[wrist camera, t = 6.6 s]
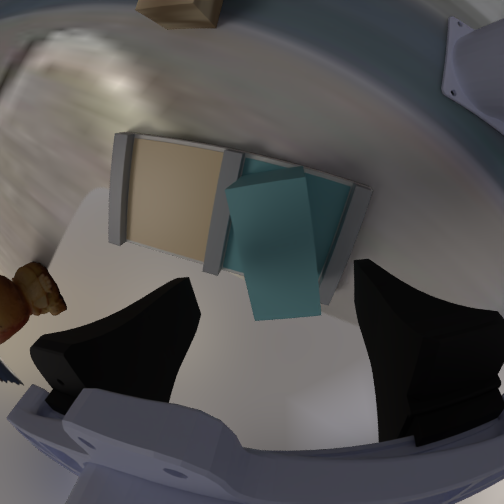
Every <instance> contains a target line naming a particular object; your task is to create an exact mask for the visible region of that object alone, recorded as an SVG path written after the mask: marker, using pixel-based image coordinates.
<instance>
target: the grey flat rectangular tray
mask: <svg viewBox="0 0 504 504" xmlns="http://www.w3.org/2000/svg"><path fill="white" fill-rule="evenodd" d="M297 166H302V165H298V164H295V163H291V162H287V161H283V160H279V159H275V158H271V157H267V156H263V155H259V154H255V153H250V152H246V151H241V150H237V149H232V148H227V147H222V146H217V145H212V144H207V143H201V142H196V141H190V140H184V139H177V138H171V137H164V136H157V135H149V134H141V133H132V132H120V133H115V136H114V144H113V153H112V164H111V176H110V193H109V243H112V244H115V245H118V246H120V245H122V244H123V243H125V242H130V243H133V244H136V245H139V246H143V247H146V248H149V249H152V250H156V251H159V252H162V253H166V254H169V255H172V256H176V257H179V258H183V259H187V260H189V261H193V262H196V263H200V264H203V272H207V273H210V274H214V275H217V276H218V274H219V272H220V271H221V270H224V271H228V272H232V273H235V274H239V275H242V276H244V272H243V268H242V264H241V260H240V255H239V251H238V247H237V242H236V238H235V234H234V229H233V225H232V220H231V216H230V212H229V207H228V203H227V198H226V194H225V189H226V188H227V187H229V186H230V185H231V184H233V183H234V182H235V181H236V180H238V179H239V178H240V177H241V176H243V175H247V174H252V173H258V172H264V171H270V170H277V169H283V168H290V167H297ZM303 168H304V173H305V178H306V185H307V191H308V198H309V205H310V212H311V220H312V228H313V236H314V244H315V253H316V262H317V272H318V283H319V294H320V303H321V304H325V305H329V303H330V301H331V299H332V297H333V294H334V292H335V290H336V288H337V285H338V283H339V280H340V278H341V276H342V273H343V271H344V268H345V266H346V264H347V261H348V259H349V256H350V254H351V251H352V248H353V246H354V243H355V241H356V238H357V235H358V233H359V230H360V227H361V224H362V222H363V219H364V216H365V213H366V210H367V207H368V204H369V201H370V198H371V195H372V192H373V189H372V188H370V187H369V186H366V185H363V184H360V183H357V182H354V181H351V180H348V179H345V178H342V177H339V176H335V175H332V174H329V173H326V172H322V171H319V170H316V169H312V168H309V167H305V166H303Z"/></svg>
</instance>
